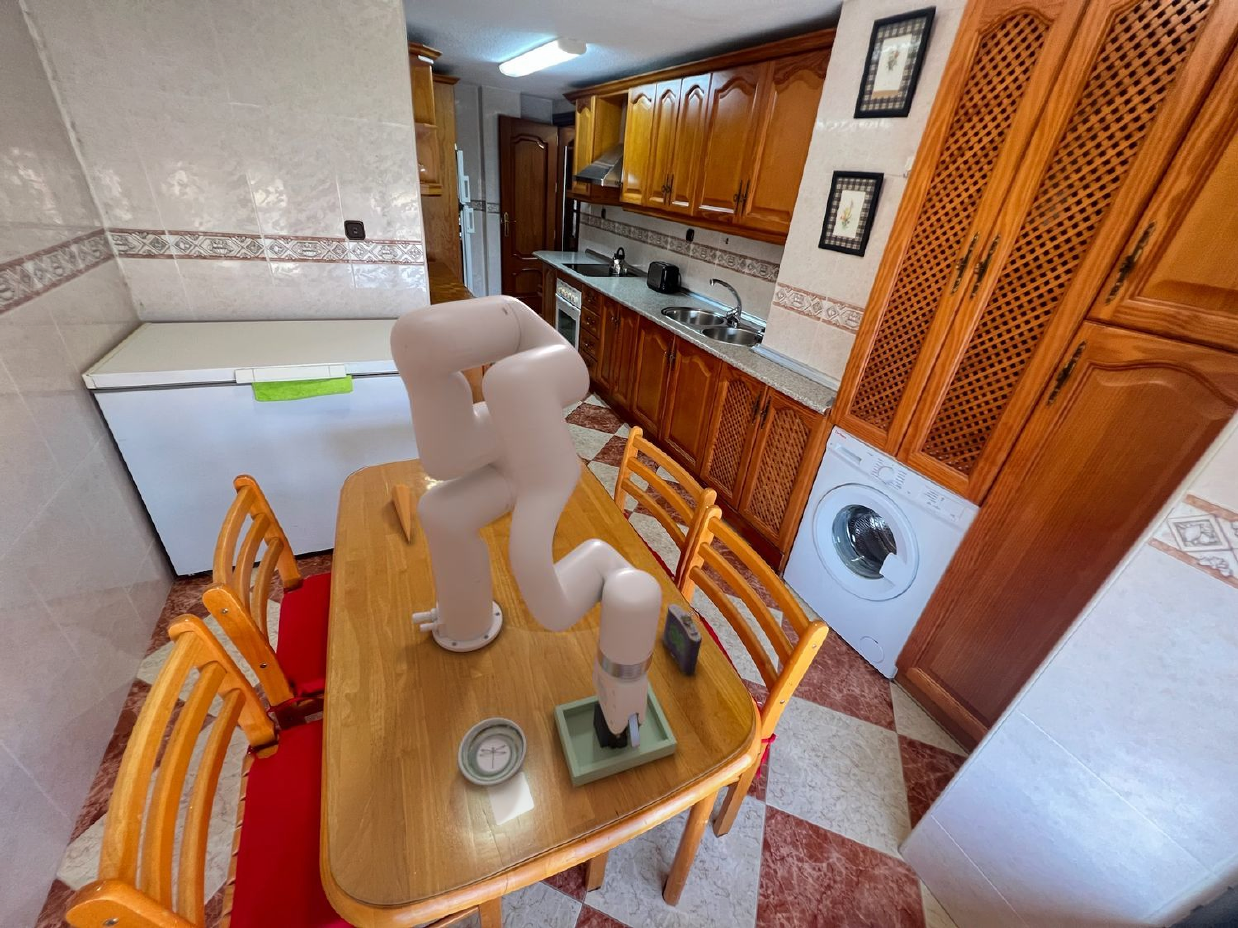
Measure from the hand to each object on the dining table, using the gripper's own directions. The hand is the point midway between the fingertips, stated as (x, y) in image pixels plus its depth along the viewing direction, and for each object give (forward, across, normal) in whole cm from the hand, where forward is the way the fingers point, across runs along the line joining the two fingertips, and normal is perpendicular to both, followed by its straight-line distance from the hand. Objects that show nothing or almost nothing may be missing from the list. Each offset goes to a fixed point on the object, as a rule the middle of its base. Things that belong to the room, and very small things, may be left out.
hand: (614, 729), depth 76 cm
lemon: (+2, -50, +1) cm, 50 cm away
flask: (+2, -11, +16) cm, 20 cm away
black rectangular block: (0, 0, 0) cm, 0 cm away
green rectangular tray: (+2, 0, 0) cm, 2 cm away
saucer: (+2, -2, -18) cm, 18 cm away
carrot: (+1, -65, -30) cm, 71 cm away
